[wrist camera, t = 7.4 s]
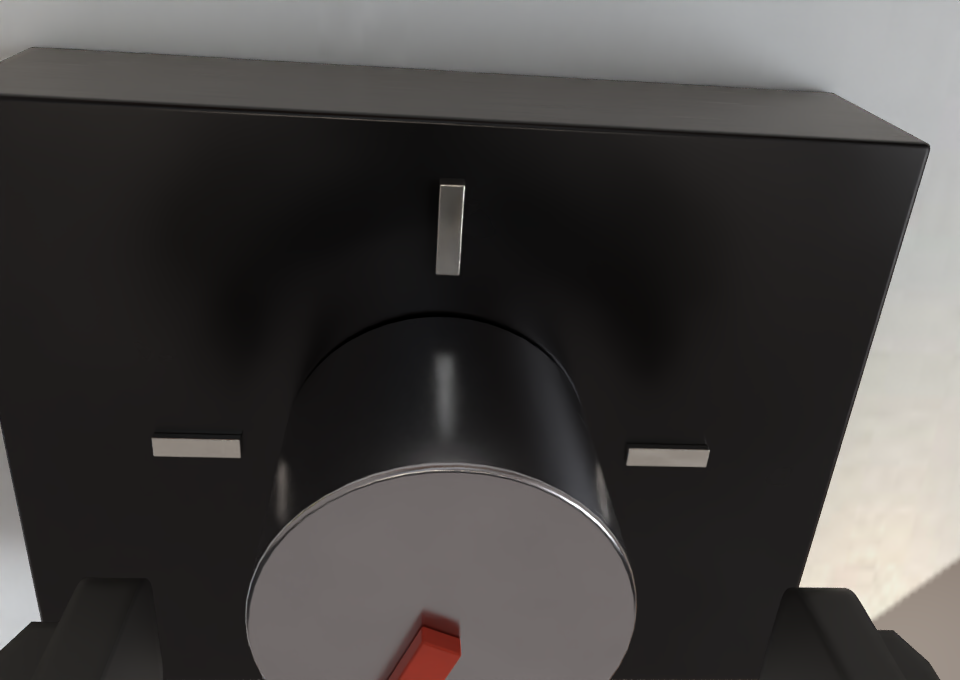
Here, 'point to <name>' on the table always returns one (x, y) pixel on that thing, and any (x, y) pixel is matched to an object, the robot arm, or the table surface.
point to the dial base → (431, 309)
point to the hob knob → (439, 519)
